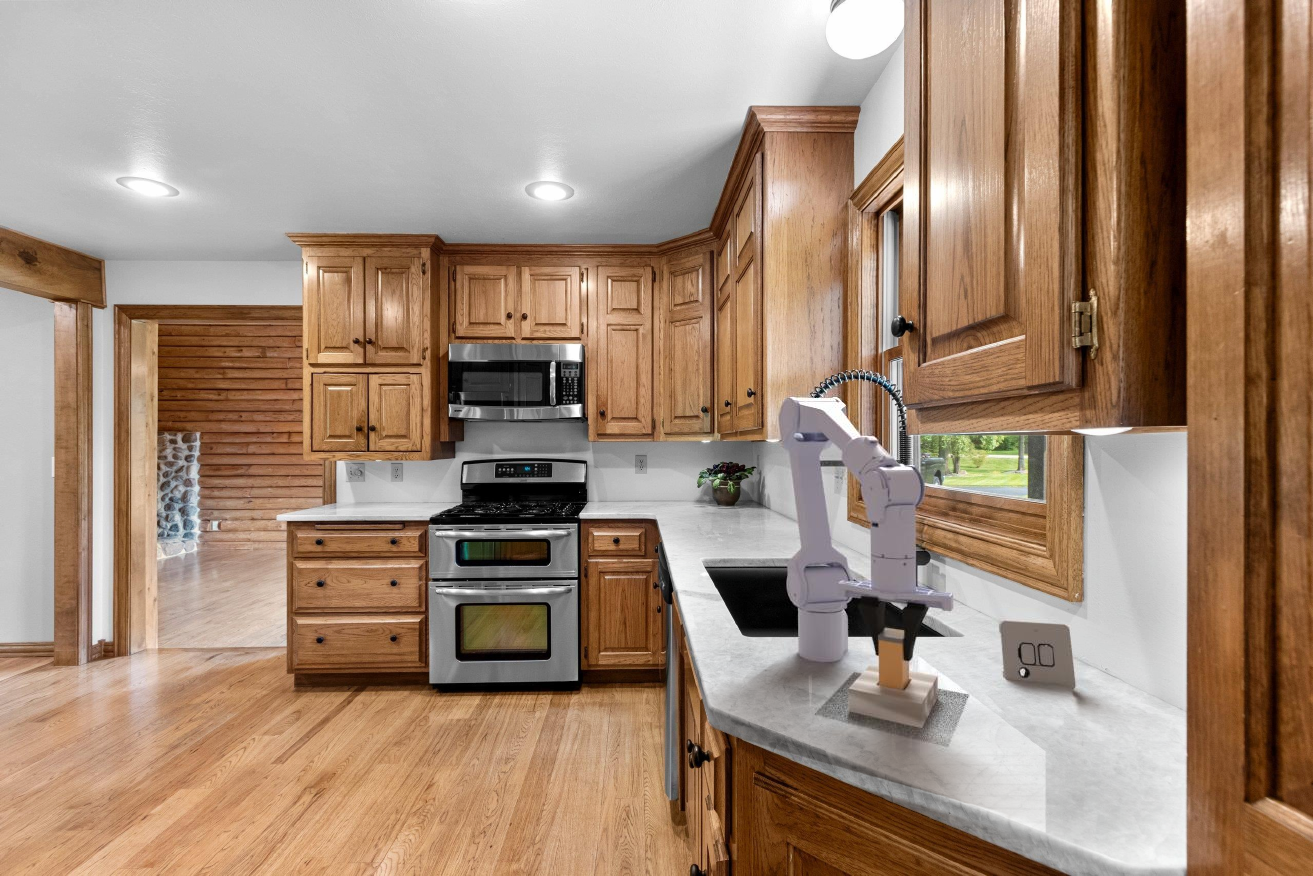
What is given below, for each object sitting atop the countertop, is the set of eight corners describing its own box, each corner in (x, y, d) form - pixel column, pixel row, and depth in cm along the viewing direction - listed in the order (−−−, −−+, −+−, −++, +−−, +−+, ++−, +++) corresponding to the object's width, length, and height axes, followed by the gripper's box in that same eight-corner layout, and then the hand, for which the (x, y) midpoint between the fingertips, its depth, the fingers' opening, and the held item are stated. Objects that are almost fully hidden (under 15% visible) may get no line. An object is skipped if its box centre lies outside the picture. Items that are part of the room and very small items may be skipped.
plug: (886, 678, 87) (885, 627, 87) (909, 682, 85) (909, 631, 85) (878, 688, 84) (878, 635, 84) (902, 693, 82) (902, 639, 82)
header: (854, 678, 96) (854, 652, 96) (969, 701, 88) (969, 673, 88) (813, 722, 81) (813, 691, 81) (948, 756, 73) (947, 721, 73)
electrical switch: (1004, 686, 93) (1002, 622, 94) (996, 677, 98) (994, 616, 99) (1077, 693, 90) (1074, 627, 91) (1064, 683, 95) (1061, 621, 96)
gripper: (830, 554, 85) (831, 654, 85) (946, 565, 77) (947, 676, 77) (846, 547, 91) (847, 641, 91) (955, 556, 83) (956, 659, 83)
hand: (894, 656), depth 85 cm, fingers closed on plug, 3 cm apart
